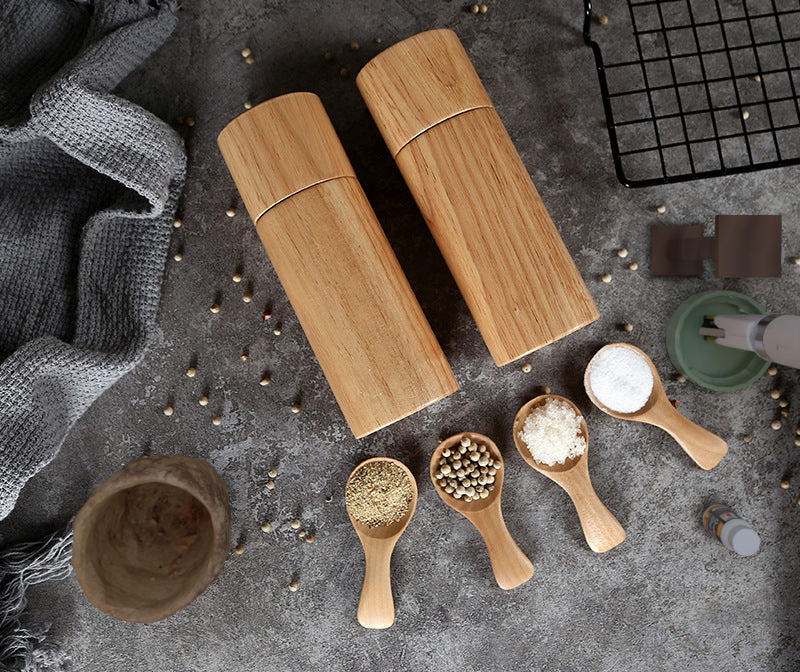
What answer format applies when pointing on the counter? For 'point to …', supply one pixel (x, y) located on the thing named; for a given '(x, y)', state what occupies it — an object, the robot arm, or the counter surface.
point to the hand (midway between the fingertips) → (720, 327)
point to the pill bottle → (731, 530)
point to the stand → (720, 247)
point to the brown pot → (152, 537)
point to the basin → (708, 358)
